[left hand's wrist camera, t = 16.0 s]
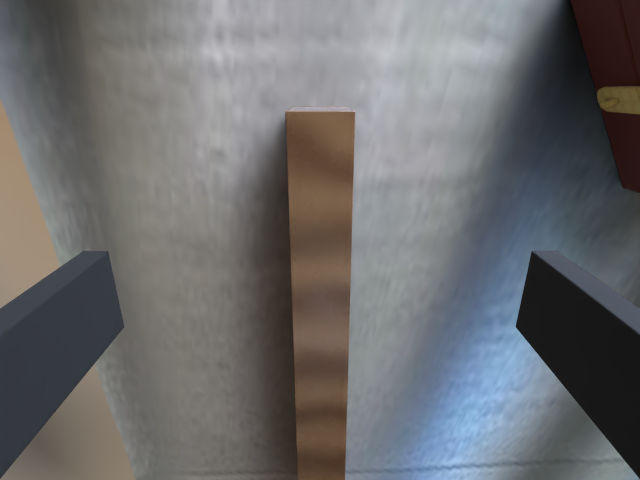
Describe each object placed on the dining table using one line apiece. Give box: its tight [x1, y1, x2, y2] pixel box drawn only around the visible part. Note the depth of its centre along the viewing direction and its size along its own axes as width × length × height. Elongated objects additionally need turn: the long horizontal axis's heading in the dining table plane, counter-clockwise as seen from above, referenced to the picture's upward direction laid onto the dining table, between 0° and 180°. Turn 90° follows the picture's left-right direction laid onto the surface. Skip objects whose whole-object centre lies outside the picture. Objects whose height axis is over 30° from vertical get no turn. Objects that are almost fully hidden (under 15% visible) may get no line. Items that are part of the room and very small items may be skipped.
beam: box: [286, 107, 355, 480], centre depth 44 cm, size 50×6×7 cm, turn 0°
